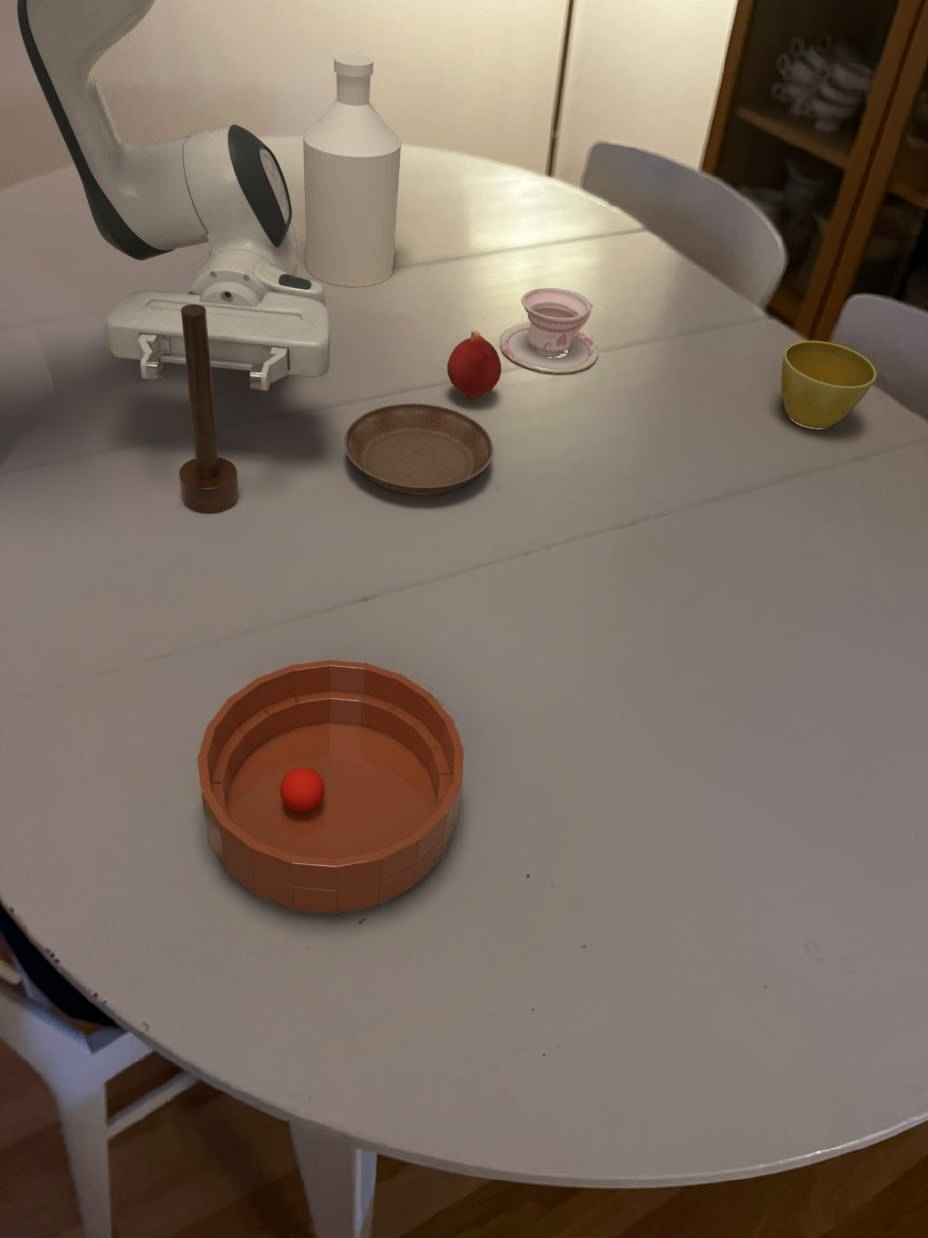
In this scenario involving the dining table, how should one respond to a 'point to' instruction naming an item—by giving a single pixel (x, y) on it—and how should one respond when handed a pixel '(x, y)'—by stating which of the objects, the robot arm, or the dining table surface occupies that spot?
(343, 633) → the dining table surface
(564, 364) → the teacup
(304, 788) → the cherry tomato
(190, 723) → the dining table surface
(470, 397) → the onion
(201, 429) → the wooden peg stand
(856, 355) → the flower pot
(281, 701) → the bowl
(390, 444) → the saucer
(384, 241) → the bottle
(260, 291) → the robot arm
